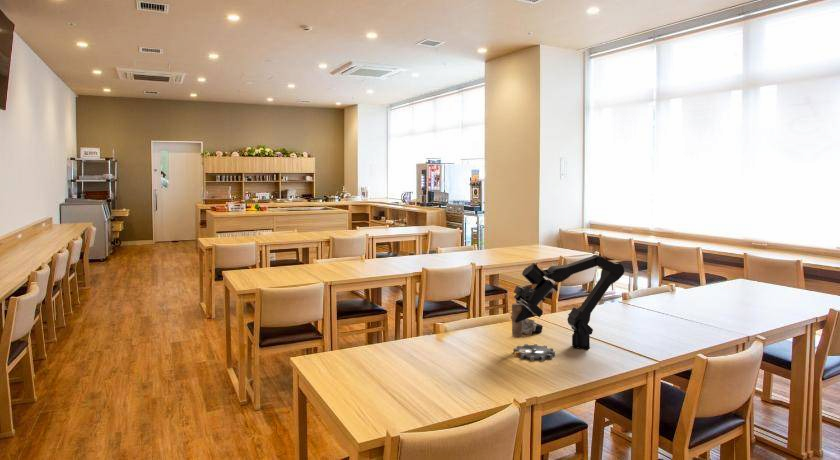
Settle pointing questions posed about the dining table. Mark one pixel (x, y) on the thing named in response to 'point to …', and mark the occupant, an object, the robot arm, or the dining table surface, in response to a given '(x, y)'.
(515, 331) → the brown cylinder
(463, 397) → the dining table surface
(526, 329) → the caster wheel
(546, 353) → the sprocket plate
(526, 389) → the dining table surface
